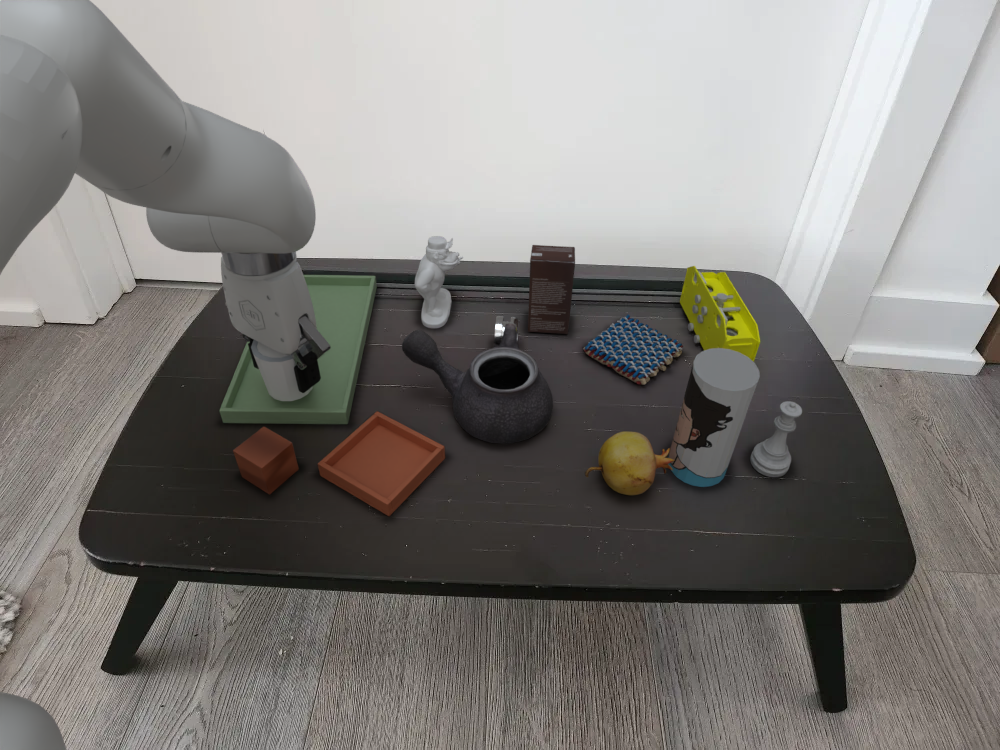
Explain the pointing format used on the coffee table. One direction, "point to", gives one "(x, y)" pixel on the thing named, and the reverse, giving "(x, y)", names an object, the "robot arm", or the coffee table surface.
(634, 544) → the coffee table surface
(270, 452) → the block
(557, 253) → the box
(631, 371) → the woven mat
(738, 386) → the grey printed cylindrical canister
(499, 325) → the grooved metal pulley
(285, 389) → the grey tapered cup
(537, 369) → the teapot
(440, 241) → the figurine
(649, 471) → the fruit
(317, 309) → the sage tray
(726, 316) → the yellow toy chassis
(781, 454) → the chess piece
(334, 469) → the terracotta tray
